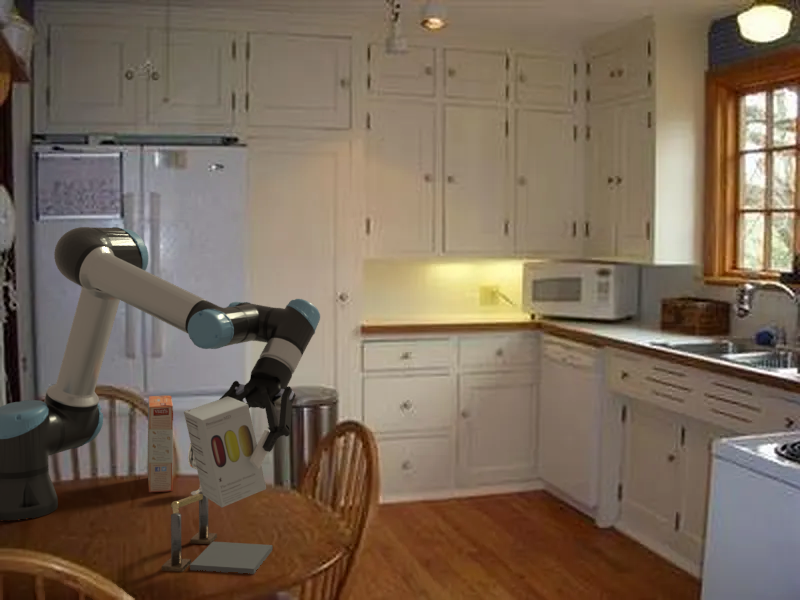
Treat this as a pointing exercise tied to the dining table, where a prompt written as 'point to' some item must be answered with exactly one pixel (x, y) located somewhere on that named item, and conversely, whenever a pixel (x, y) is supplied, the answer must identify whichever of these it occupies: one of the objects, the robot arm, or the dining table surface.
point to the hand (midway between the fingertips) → (226, 460)
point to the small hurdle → (200, 538)
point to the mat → (231, 557)
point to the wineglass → (193, 466)
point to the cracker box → (160, 443)
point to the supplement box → (224, 450)
